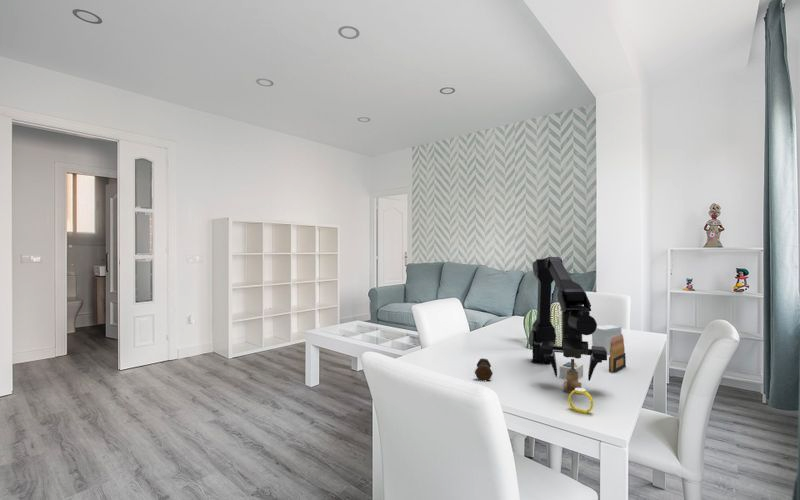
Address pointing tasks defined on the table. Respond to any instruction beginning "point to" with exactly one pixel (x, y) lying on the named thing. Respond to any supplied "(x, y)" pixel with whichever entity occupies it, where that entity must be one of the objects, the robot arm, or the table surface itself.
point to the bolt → (483, 370)
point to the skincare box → (605, 336)
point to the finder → (566, 367)
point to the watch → (581, 391)
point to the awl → (572, 377)
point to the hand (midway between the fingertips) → (572, 378)
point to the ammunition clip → (617, 354)
